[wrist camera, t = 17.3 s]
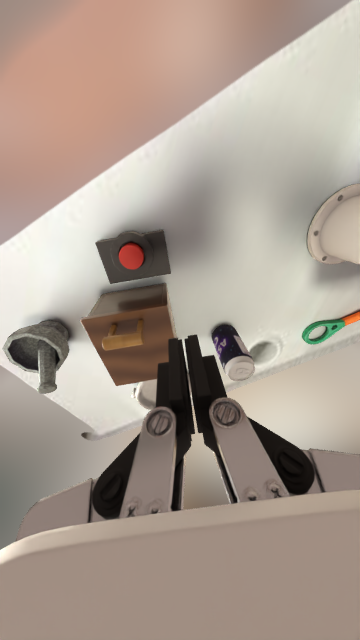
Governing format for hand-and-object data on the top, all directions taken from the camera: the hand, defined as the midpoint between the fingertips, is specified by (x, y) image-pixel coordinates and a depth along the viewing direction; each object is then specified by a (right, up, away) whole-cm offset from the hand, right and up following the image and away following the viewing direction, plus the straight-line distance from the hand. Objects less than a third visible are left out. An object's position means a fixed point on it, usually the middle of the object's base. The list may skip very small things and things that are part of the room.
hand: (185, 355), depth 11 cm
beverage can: (+10, -1, +33) cm, 34 cm away
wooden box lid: (-7, -3, +20) cm, 22 cm away
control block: (-8, +13, +22) cm, 27 cm away
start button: (-8, +13, +19) cm, 24 cm away
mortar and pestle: (-27, -1, +29) cm, 40 cm away
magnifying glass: (+37, +1, +34) cm, 50 cm away
